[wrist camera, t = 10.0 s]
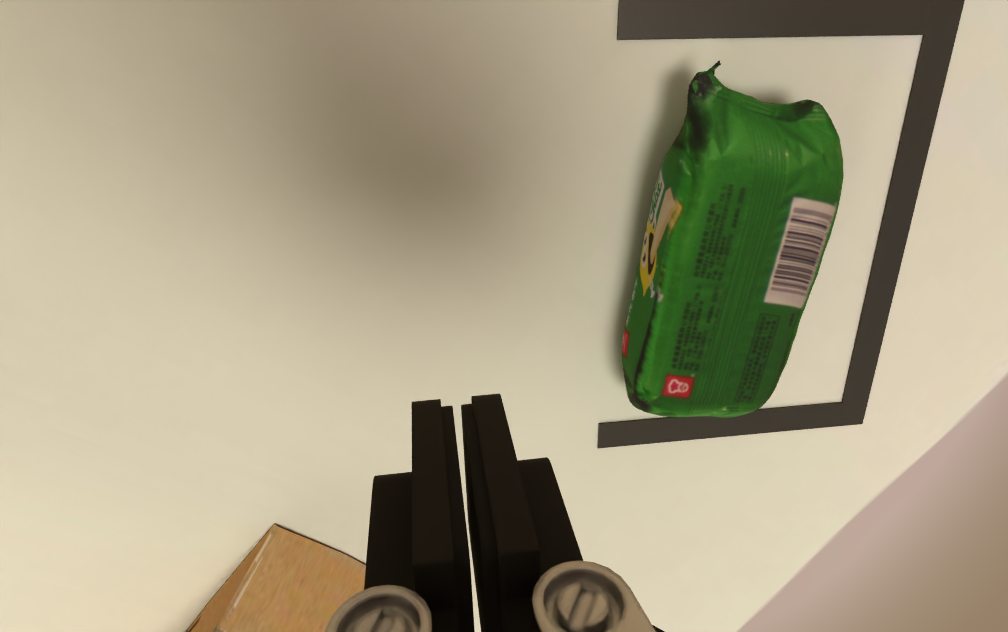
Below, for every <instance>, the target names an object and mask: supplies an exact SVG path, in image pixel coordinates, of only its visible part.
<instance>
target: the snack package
mask: <svg viewBox="0 0 1008 632" xmlns="http://www.w3.org/2000/svg"><path fill="white" fill-rule="evenodd" d="M719 65H721V64H720V61H718V62H717V63H716V64H715V65H714V66H713V67H712V68H710V69H709V70H708V71H704V72H698V73H697V74H696V75H695V77H694V78H693V80H692V81H691V83H690V85H689V90H688V104H687V114H686V118H685V121H684V125H683V127H682V129H681V131H680V133H679V135H678V136H677V138H676V140H675V141H674V143H673V145H672V146H671V148H670V149H669V151H668V153H667V154H666V157H665V159H664V161H663V163H662V166H661V170H660V173H659V177H658V180H657V182H656V185H655V187H654V192H653V198H652V204H651V209H650V213H649V218H648V222H647V226H646V231H645V236H644V241H643V246H642V251H641V256H640V260H639V264H638V268H637V274H636V279H635V284H634V289H633V293H632V298H631V302H630V307H629V312H628V316H627V321H626V325H625V330H624V335H623V343H622V362H623V371H624V377H625V384H626V390H627V395H628V398H629V400H630V402H631V403H632V405H633V406H635V407H636V408H637V409H640V410H642V411H644V412H647V413H651V414H655V415H660V416H668V417H693V416H715V417H718V418H728V417H737V416H741V415H744V414H747V413H750V412H753V411H755V410H757V409H759V408H761V407H762V406H763V405H764V404H765V403H766V401H767V400H768V399H769V398H770V396H771V395H772V393H773V391H774V390H775V388H776V385H777V383H778V381H779V378H780V376H781V374H782V371H783V369H784V367H785V365H786V363H787V360H788V357H789V354H790V351H791V347H792V344H793V341H794V339H795V336H796V333H797V329H798V325H799V322H800V319H801V316H802V314H803V311H804V309H805V306H806V303H807V300H808V298H809V295H810V292H811V290H812V287H813V284H814V282H815V280H816V277H817V275H818V271H819V268H820V264H821V261H822V257H823V254H824V251H825V248H826V246H827V243H828V240H829V238H830V235H831V231H832V227H833V224H834V221H835V218H836V214H837V209H838V205H839V200H840V196H841V189H842V183H843V158H842V151H841V145H840V139H839V136H838V134H837V131H836V129H835V127H834V125H833V123H832V121H831V119H830V117H829V115H828V114H827V112H826V111H825V109H824V108H823V106H822V105H821V104H820V103H817V102H814V101H812V100H802V101H799V102H795V103H788V104H772V103H764V102H761V101H759V100H757V99H755V98H753V97H751V96H747V95H744V94H742V93H739V92H736V91H733V90H731V89H728V88H726V87H725V86H724V85H723V84H721V82H720V81H719V80H718V79H717V78H716V77H715V76H714V71H715V69H716V68H717V67H718V66H719Z"/></svg>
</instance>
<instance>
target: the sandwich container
mask: <svg viewBox="0 0 1008 632" xmlns="http://www.w3.org/2000/svg"><path fill="white" fill-rule="evenodd" d="M365 571H366V565H364V564H362V563H360V562H358V561H357V560H355V559H353V558H351V557H349V556H347V555H345V554H343V553H341V552H338V551H336V550H334V549H331V548H329V547H326V546H324V545H321V544H319V543H317V542H314V541H312V540H309V539H307V538H304V537H302V536H300V535H297V534H295V533H292V532H290V531H287V530H285V529H282V528H280V527H278V526H277V525H275V524H274V525H273V526H272V527H271V529H270V530H269V531H268V532H267V533H266V535H265V536H264V537H263V538H262V539H261V541H260V542H259V543H258V544H257V545H256V546H255V548H254V549H253V550H252V551H251V552H250V554H249V555H248V556H247V557H246V558H245V560H244V561H243V562H242V563H241V564H240V566H239V567H238V568H237V569H236V570H235V572H234V573H233V574H232V575H231V576H230V578H229V579H228V580H227V581H226V582H225V584H224V585H223V586H222V587H221V588H220V590H219V591H218V592H217V593H216V594H215V596H214V597H213V598H212V599H211V600H210V601H209V603H208V604H207V605H206V606H205V609H204V610H203V611H202V613H201V614H200V615H199V616H198V618H197V619H196V620H195V622H194V623H193V624H192V626H191V627H190V628H189V629H188V631H187V632H325V629H326V627H327V625H328V623H329V621H330V619H331V617H332V615H333V613H334V612H335V611H336V610H337V609H338V608H339V607H340V606H341V604H342V603H343V602H344V601H346V600H347V599H349V598H350V597H352V596H353V595H355V594H356V593H358V592H361V591H363V590H364V583H365Z"/></svg>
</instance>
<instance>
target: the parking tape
mask: <svg viewBox="0 0 1008 632" xmlns="http://www.w3.org/2000/svg"><path fill="white" fill-rule="evenodd" d="M964 1H965V0H619V11H618V32H617V40H640V39H699V38H759V37H818V36H877V35H923V40H922V44H921V49H920V53H919V58H918V62H917V67H916V71H915V76H914V80H913V85H912V89H911V94H910V98H909V103H908V107H907V112H906V116H905V121H904V125H903V130H902V134H901V139H900V143H899V148H898V152H897V157H896V161H895V166H894V170H893V175H892V179H891V184H890V188H889V193H888V197H887V202H886V206H885V211H884V215H883V220H882V224H881V229H880V233H879V237H878V242H877V246H876V251H875V255H874V260H873V264H872V269H871V273H870V278H869V282H868V287H867V291H866V296H865V300H864V305H863V309H862V314H861V318H860V323H859V327H858V332H857V336H856V341H855V345H854V350H853V354H852V359H851V363H850V368H849V372H848V377H847V381H846V386H845V390H844V395H843V399H842V402H839V403H827V404H816V405H805V406H793V407H782V408H770V409H759V410H755V411H753V412H750V413H747V414H744V415H741V416H737V417H728V418H718V417H715V416H693V417H668V418H656V419H645V420H633V421H622V422H611V423H599V430H598V448H606V447H617V446H628V445H639V444H650V443H661V442H671V441H682V440H693V439H704V438H715V437H726V436H737V435H747V434H758V433H769V432H780V431H791V430H802V429H813V428H823V427H834V426H845V425H856V424H862V423H863V419H864V415H865V411H866V407H867V403H868V399H869V394H870V390H871V386H872V382H873V378H874V374H875V370H876V365H877V361H878V357H879V353H880V349H881V345H882V341H883V336H884V332H885V328H886V324H887V320H888V316H889V311H890V307H891V303H892V299H893V295H894V291H895V287H896V282H897V278H898V274H899V270H900V266H901V262H902V258H903V253H904V249H905V245H906V241H907V237H908V233H909V229H910V224H911V220H912V216H913V212H914V208H915V204H916V200H917V195H918V191H919V187H920V183H921V179H922V175H923V171H924V166H925V162H926V158H927V154H928V150H929V146H930V141H931V137H932V133H933V129H934V125H935V121H936V117H937V112H938V108H939V104H940V100H941V96H942V92H943V88H944V83H945V79H946V75H947V71H948V67H949V63H950V59H951V54H952V50H953V46H954V42H955V38H956V34H957V30H958V25H959V21H960V17H961V13H962V9H963V5H964Z"/></svg>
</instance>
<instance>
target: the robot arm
mask: <svg viewBox="0 0 1008 632" xmlns="http://www.w3.org/2000/svg"><path fill="white" fill-rule="evenodd" d="M461 411H462V428H463V444H464V460H465V476H466V493H467V509H468V523H469V533H470V542H471V550H472V558H473V567H474V575H475V583H476V592H477V600H478V608H479V617H480V625H481V632H664V631H662V630H660V629H659V628H657V627H655V626H653V625H652V624H651V622H650V621H649V619H648V617H647V616H646V614H645V612H644V611H643V609H642V607H641V606H640V604H639V602H638V601H637V599H636V597H635V596H634V594H633V592H632V591H631V589H630V587H629V586H628V585H627V584H626V582H625V581H624V580H623V579H622V578H621V576H619V575H618V574H616V573H615V572H614V571H612V570H611V569H609V568H607V567H605V566H602V565H599V564H597V563H594V562H587V561H583V559H582V556H581V553H580V550H579V547H578V544H577V541H576V538H575V535H574V532H573V529H572V526H571V523H570V520H569V517H568V514H567V511H566V508H565V505H564V502H563V499H562V496H561V493H560V490H559V487H558V483H557V480H556V477H555V474H554V471H553V468H552V465H551V463H550V461H549V459H548V458H538V459H528V460H519V461H517V458H516V454H515V450H514V446H513V442H512V438H511V434H510V430H509V426H508V422H507V418H506V414H505V411H504V407H503V403H502V399H501V395H500V394H491V395H480V396H472V404H465V405H461ZM325 632H474V617H473V601H472V585H471V570H470V558H469V547H468V538H467V529H466V521H465V512H464V503H463V494H462V486H461V477H460V468H459V460H458V451H457V442H456V433H455V425H454V416H453V407H452V406H444V407H441V401H440V399H438V400H427V401H416V402H412V472H407V473H397V474H388V475H379V476H375V477H374V480H373V489H372V500H371V512H370V524H369V536H368V548H367V559H366V571H365V583H364V590H363V591H361V592H358V593H356V594H355V595H353V596H352V597H350V598H349V599H347V600H346V601H344V602H343V603H342V604H341V606H340V607H339V608H338V609H337V610H336V611H335V612H334V613H333V615H332V617H331V619H330V621H329V623H328V625H327V627H326V629H325Z"/></svg>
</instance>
